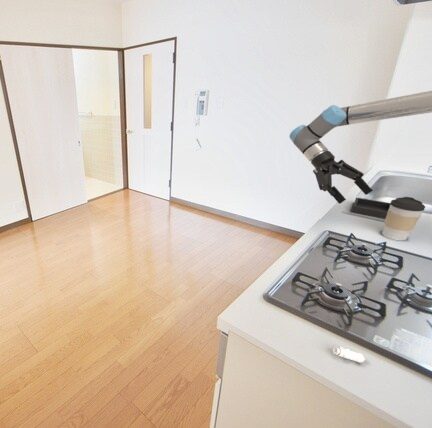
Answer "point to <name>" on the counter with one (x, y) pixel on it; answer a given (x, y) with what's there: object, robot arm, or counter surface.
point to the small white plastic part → (348, 354)
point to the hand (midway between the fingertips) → (356, 197)
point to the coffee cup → (402, 217)
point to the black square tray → (371, 207)
